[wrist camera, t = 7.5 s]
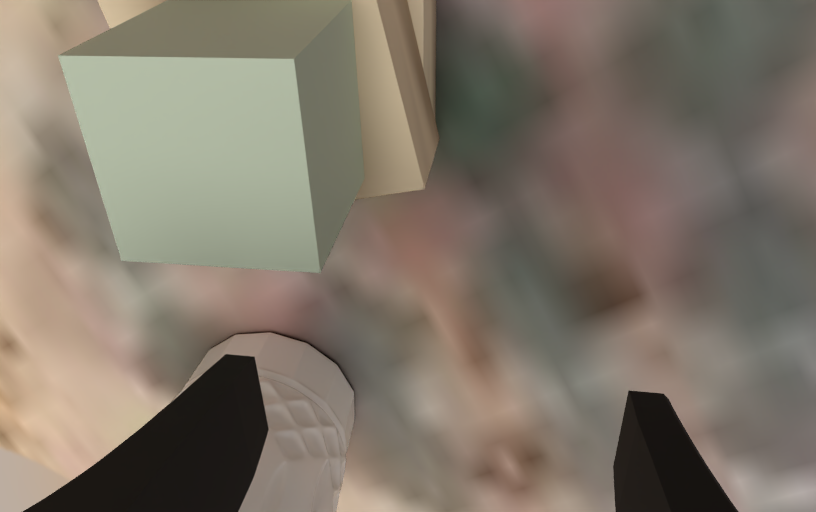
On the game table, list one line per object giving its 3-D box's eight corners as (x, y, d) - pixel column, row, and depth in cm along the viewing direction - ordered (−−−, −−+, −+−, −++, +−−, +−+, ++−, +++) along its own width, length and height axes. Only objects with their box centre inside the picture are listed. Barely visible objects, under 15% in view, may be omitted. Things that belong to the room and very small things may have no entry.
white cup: (152, 344, 28) (-8, 564, 20) (314, 296, 25) (209, 529, 17) (249, 469, 32) (148, 702, 23) (401, 439, 29) (348, 690, 21)
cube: (351, 0, 14) (294, 58, 11) (364, 178, 16) (319, 273, 13) (167, -1, 14) (57, 55, 11) (204, 171, 17) (121, 260, 13)
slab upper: (382, -105, 15) (353, -91, 13) (439, 138, 18) (424, 189, 16) (153, -44, 17) (88, -20, 14) (240, 172, 20) (198, 223, 17)
